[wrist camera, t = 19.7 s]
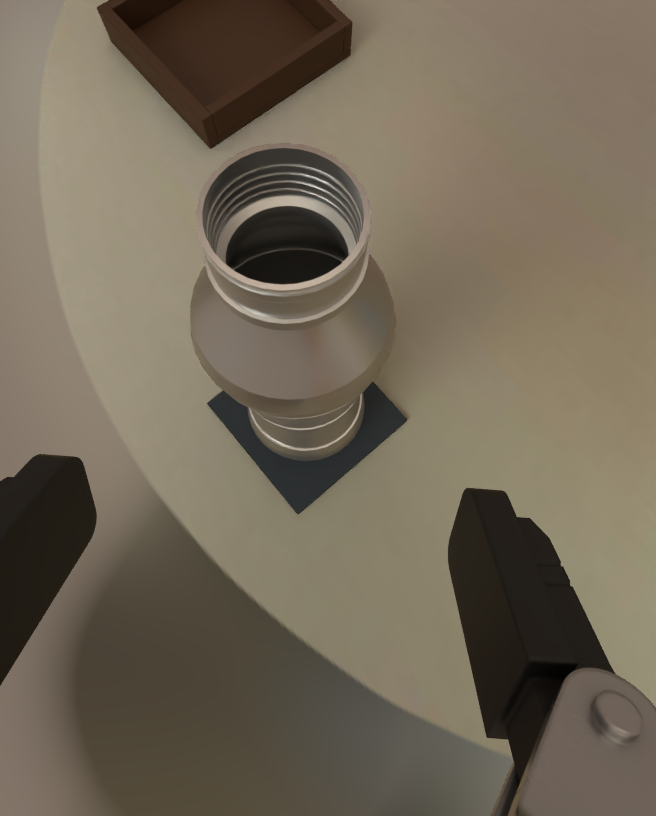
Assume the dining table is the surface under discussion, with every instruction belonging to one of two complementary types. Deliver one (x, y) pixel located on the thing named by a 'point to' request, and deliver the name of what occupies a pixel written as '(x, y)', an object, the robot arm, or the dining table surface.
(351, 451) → the mat
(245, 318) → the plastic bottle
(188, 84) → the tray
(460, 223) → the dining table surface
